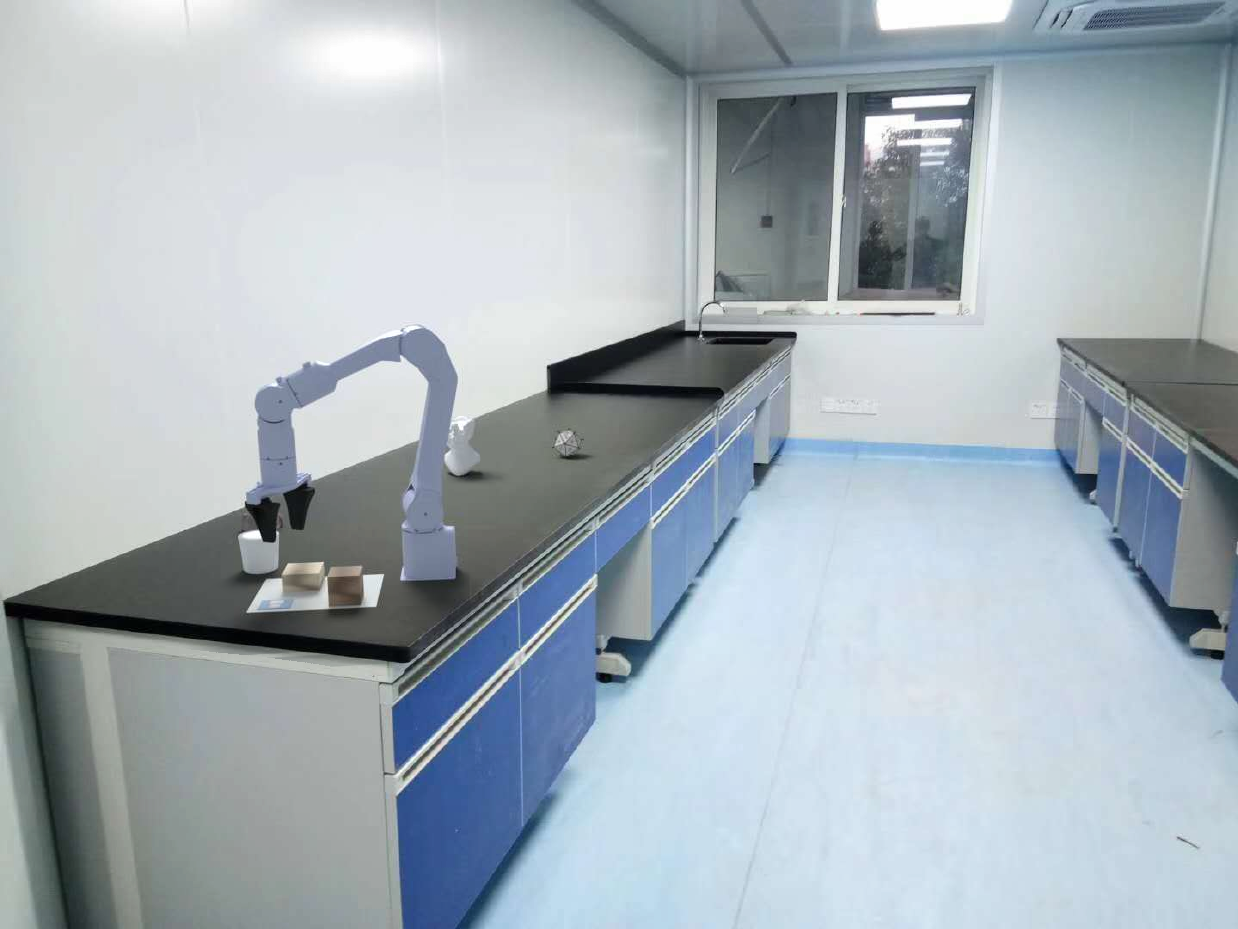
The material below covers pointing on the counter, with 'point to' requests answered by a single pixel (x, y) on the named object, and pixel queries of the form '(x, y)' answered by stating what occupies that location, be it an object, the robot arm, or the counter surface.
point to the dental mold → (250, 524)
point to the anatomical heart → (461, 447)
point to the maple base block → (303, 576)
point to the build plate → (309, 596)
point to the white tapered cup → (258, 552)
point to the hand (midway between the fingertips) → (283, 535)
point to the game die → (567, 443)
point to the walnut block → (345, 586)
